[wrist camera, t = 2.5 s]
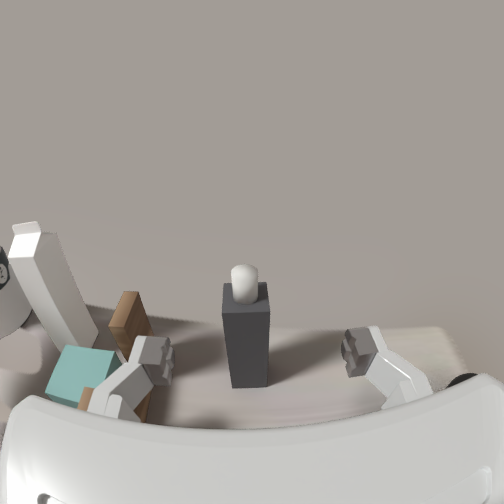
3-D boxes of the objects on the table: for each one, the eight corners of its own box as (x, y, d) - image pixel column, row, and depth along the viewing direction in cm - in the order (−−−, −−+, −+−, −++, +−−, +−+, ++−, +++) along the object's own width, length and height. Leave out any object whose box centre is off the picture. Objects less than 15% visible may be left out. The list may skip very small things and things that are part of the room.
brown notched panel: (121, 473, 20) (67, 440, 14) (147, 350, 37) (124, 291, 31) (137, 477, 20) (86, 447, 14) (160, 350, 37) (138, 291, 31)
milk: (87, 359, 34) (24, 233, 22) (60, 353, 34) (-2, 236, 22) (99, 331, 39) (50, 210, 27) (73, 328, 39) (23, 215, 27)
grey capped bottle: (232, 388, 32) (218, 287, 23) (232, 361, 35) (221, 259, 26) (266, 387, 32) (271, 285, 23) (264, 360, 36) (266, 257, 27)
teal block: (72, 418, 24) (44, 392, 21) (87, 374, 31) (65, 344, 28) (121, 431, 25) (96, 406, 21) (133, 381, 31) (114, 351, 28)
